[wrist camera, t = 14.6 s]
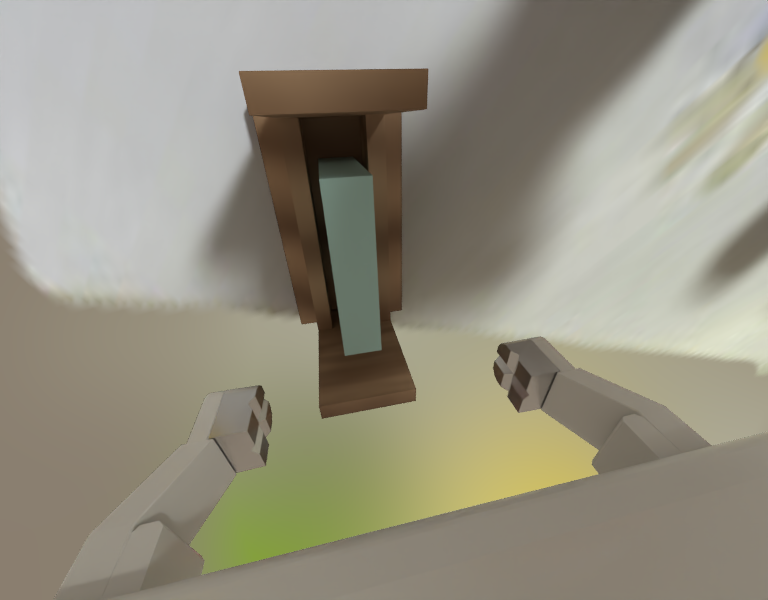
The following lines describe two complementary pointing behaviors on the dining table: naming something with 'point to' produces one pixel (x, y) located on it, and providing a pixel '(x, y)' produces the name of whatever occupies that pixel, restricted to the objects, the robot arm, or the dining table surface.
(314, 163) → the wooden u-shaped stand
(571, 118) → the dining table surface
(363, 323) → the door panel
